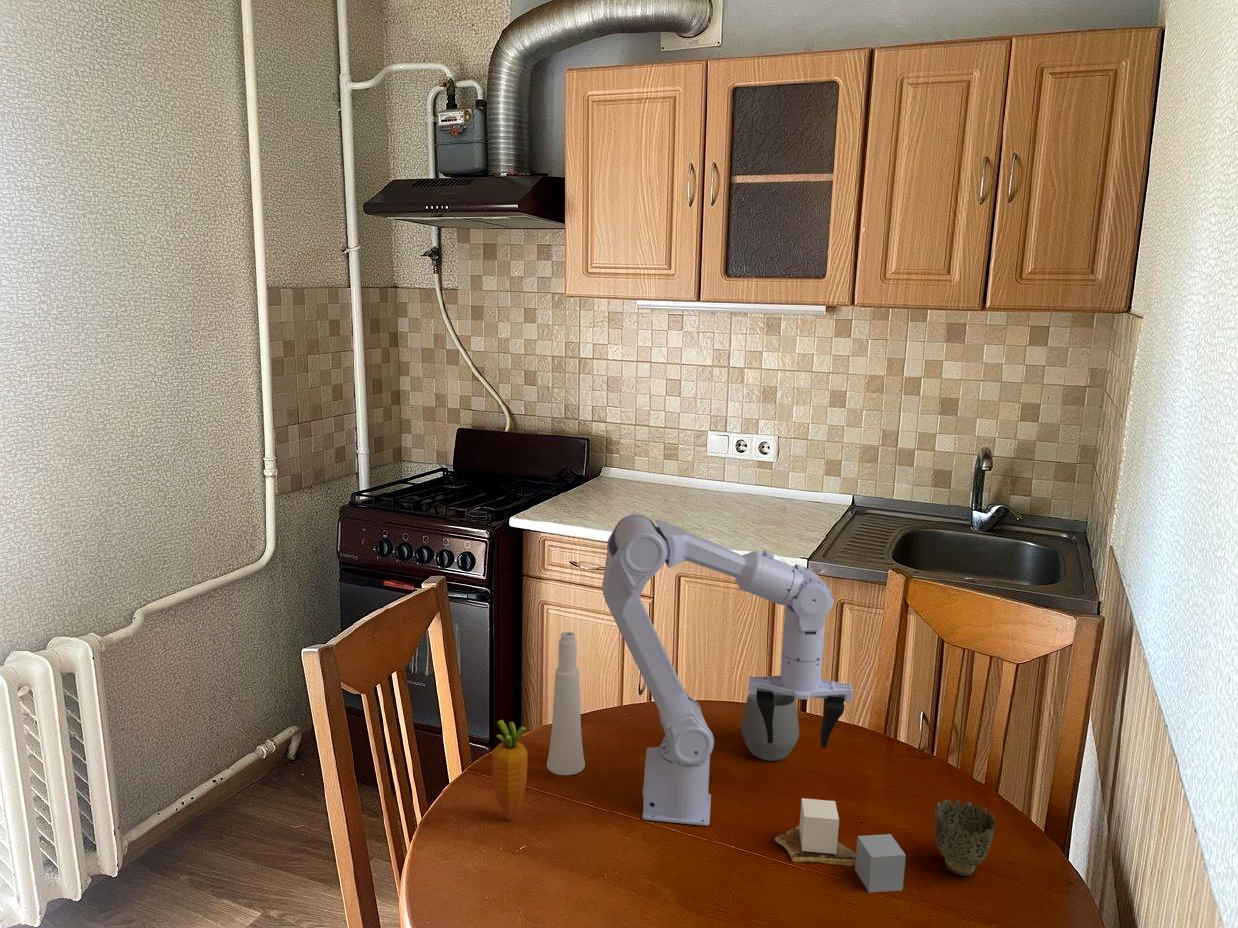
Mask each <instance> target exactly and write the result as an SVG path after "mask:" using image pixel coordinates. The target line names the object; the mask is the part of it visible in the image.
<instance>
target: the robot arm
mask: <svg viewBox="0 0 1238 928" xmlns="http://www.w3.org/2000/svg"><path fill="white" fill-rule="evenodd" d="M654 522H655V523H656V524H655V523H654ZM654 522H653V520H652V519H651V518H649V517H648V516H646V515H644V514H640V513H632V514H628V515H626V516H624V517H623V518H621V519H619V521H618V522H617V523H616V525H615V526H614V527H613V531H611V534H610V535H609V538H608V540H607V545H606V547H607V549H606V558H605V564H604V565H605V566H604V573H603V580H602V585H601V586H602V587H601V591H602V595H603V598H604V601H605V603H606V606H607V607H608V609H609V611H610V614H611V615H612V618H613V619H614V622H615V623H616V627H618V630H619V631H620V632H619V633H620V634H621V636H622V638H623V640H624V642H625V644H626V646H627V648H628V651H629V652H630V654H631V656H632V659H633V660H634V662H635V664H636V666H637V669H638V671H639V672H640V674H641V676H642V679H643V681H644V683H645V684H646V685H645V686H646V687H647V689H648V691H649V693H650V696H651V697H652V699H653V700H654V702H655V705H656V707H657V710H658V713H659V722H660V725H661V727H662V729H663V731H664V734H665V735H664V737H663V739H662V740H661V744H660V745H659V746H655V747H647V749H646V754H645V761H644V772H643V773H644V776H643V786H642V795H641V796H642V798H643V805H642V807H643V809H642V819H643V820H644V821H645V820H647V821H653V822H654V821H656V822H664V823H666V822H667V823H675V824H677V823H678V824H687V825H697V826H709V825H710V820H711V818H710V817H711V803H712V794H711V793H709V787H710V786H709V785H710V783H709V782H710V767H711V766H710V764H711V763H710V762H711V754H712V753H713V750H714V746H715V738H714V735H713V732H712V731H711V729H710V728H709V727H708V724H707V722H706V720H705V717H704V716H703V713H702V709H701V705H700V704H699V703H698V702H697V700H695V699H694V698H692V697H691V696H690V695H689V694H688V693H687V692H686V690H685V687H684V686H683V684H682V682H681V680H680V678H679V676H678V675H677V672H676V670H675V668H674V666H673V664H672V662H671V659H670V656H669V655H668V653H667V651H666V648H664V645H663V642H662V641H661V638H660V637H659V636H660V635H658V632H657V631H656V629H655V626H654V624H653V623H652V620H651V618H650V616H649V614H648V611H647V610H646V608H645V605H644V604H643V601H642V599H641V595H642V592H643V590H644V588H645V587H646V585H647V583H648V582H649V580H651V579H652V578H653V577H654V576H655V574H657V573H658V571H660V570H661V568H662V567H663V565H664V564H666V566H667V568H673V567H675V566H677V565H680V564H681V563H684V562H690V563H692V564H694V565H695V564H696V565H699V566H701V567H704V568H707V569H709V570H712V571H715V572H718V573H721V574H724V575H727V576H730V577H733V578H734V579H735V581H736V584H737V585H738V588H739V589H740V590H742V591H743V592H745V593H746V592H747V593H749V594H751V595H755V596H757V597H759V598H762V599H764V600H767V601H770V602H773V603H775V604H777V605H781V606H785V607H784V609H785V610H784V611H785V612H784V621H783V633H782V649H781V650H782V651H781V665H780V669H781V670H780V675H769V676H767V675H765V676H749V679H748V680H749V681H748V682H749V683H748V694H752V695H756V697H757V704H758V707H759V709H760V711H761V714H762V716H763V719H764V722H765V726H766V730H767V741H768V743H773V713H774V694H777V695H789V696H794V697H795V698H796V700H805V701H806V700H807V701H808V700H809V699H810V698H816V699H817V698H818V699H823V710H822V721H821V729H820V746H821V747H820V748H822V749H827V746H828V743H829V740H830V737H831V734H832V732H833V730H834V727H835V725H836V724H837V723H838V720H839V719H840V718H841V716H842V715H843V714H844V712H845V703H852V702H853V694H854V693H853V691H854V690H853V687H852V684H850V683H843V682H837V681H833V680H829V679H828V680H827V679H822V671H823V658H824V644H825V630H826V625H825V624H826V616H828V615H829V613H830V612H831V610H832V608H833V606H834V602H835V599H833V598H832V597H833V596H832V590H831V588H830V587H829V586H828V584H827V583H826V582H825V581H824V580H822V579H821V578H820V577H819V576H818V575H817V574H816V573H815V572H814V571H811V570H810V569H809V568H807V566H803V565H800V564H797V563H794V565H790V564H788V563H786V562H784V561H781V560H779V559H776V558H775V555H774V553H772V552H770V551H768V550H766V549H765V550H763V551H762V552H759V551H757V550H755V551H754V550H753V551H751V552H749V553H746V554H740V553H738V552H735V551H733V550H731V549H728V548H727V547H724V546H722V545H719V544H717V543H715V542H712V541H711V540H708V539H706V538H704V537H701V536H699V535H697V534H695V533H692V532H691V531H689V530H686V529H683V528H681V527H679V526H676V525H673V524H671V523H668V522H666V521H664V520H660V519H659V520H658V519H654ZM656 525H657V526H656Z"/></svg>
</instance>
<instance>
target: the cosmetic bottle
mask: <svg viewBox="0 0 1238 928" xmlns="http://www.w3.org/2000/svg"><path fill="white" fill-rule="evenodd" d="M577 643H578V642H577V639H576V634H575V633H574V632H573V631H564V632H561V633H560V639H559V640H558V663H557V665H558V667H557V668H556V669H555V673H554V674H555V675H554V687H553V689H554V690H553V707H552V721H551V722H552V723H551V733H550V734H551V735H550V744H549V749H548V750H549V751H548V755H547V756H548V757H547V761H546V768H547V769H548V771H549V772H550V773H552V774H555V775H558V776H572V775H573V776H574V775H576V774H578V773H580V772H582V771H583V770H584V769H585V767H586V762H585V757H584V756H585V755H584V751H583V750H584V749H583V742H582V741H583V738H582V726H581V724H582V723H581V720H582V719H581V693H580V692H581V690H580V689H581V686H580V670H579V669H578V668H577V655H578V654H577V650H578V649H577Z"/></svg>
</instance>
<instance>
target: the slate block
mask: <svg viewBox="0 0 1238 928" xmlns="http://www.w3.org/2000/svg"><path fill="white" fill-rule="evenodd" d="M855 851H856V852H855V853H856V864H855V865H854V867H855V868H854V871H855V873H856V875H857V876H858V878H859V880H860V881H861V882H862V883H863V885H864V887H865V889H866V891H867V892H868V893H881V892H884V893H885V892H897V891H903V888H904V878H905V869H906V859H907V858H906V857H907V855H906V853H905V852H904V851H903V848H901V846H900V845H899V844H898V841H896V840H895V838H894V837H893V835H892V834H891V833H887V834H870V835H867V834H866V835H858V836H857V840H856V850H855Z"/></svg>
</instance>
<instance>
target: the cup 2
mask: <svg viewBox="0 0 1238 928" xmlns="http://www.w3.org/2000/svg"><path fill="white" fill-rule="evenodd" d="M936 807H937V808H936V810H935V809H934V827H935V841H936V844H937V845H936V846H937V848H938V850H939V852H940V854H941V855H942V856H943V858H945V860H944V862H945V865H946V868H947V869H948V870H949V871H950V872H951V873H953V874H954V875H958V876H962V877H966V876H970V875H972V874H973V872H975V869H976V866H978V865H980V864H982V863H983V862H984V861H985V859H986V858H987V856H988V853H989V851H990V849H991V845H992V841H993V840H992V839H993V837H994V833H995V827H996V819H995V815H994V813H992V812H991V813H987V809H986V807H984V808H983V809H981V810H980V808H979V807H978V804H977V803H973V804H971V802H970V801H969V800H968V801H965V802H964V803H963V804H961V800H960V799H956V800H955V801H954V803H953V802H952V801H951V800H950V799H948V798H946V799H944V800H943V801H942V802H939V801H938V802H937V804H936Z"/></svg>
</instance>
